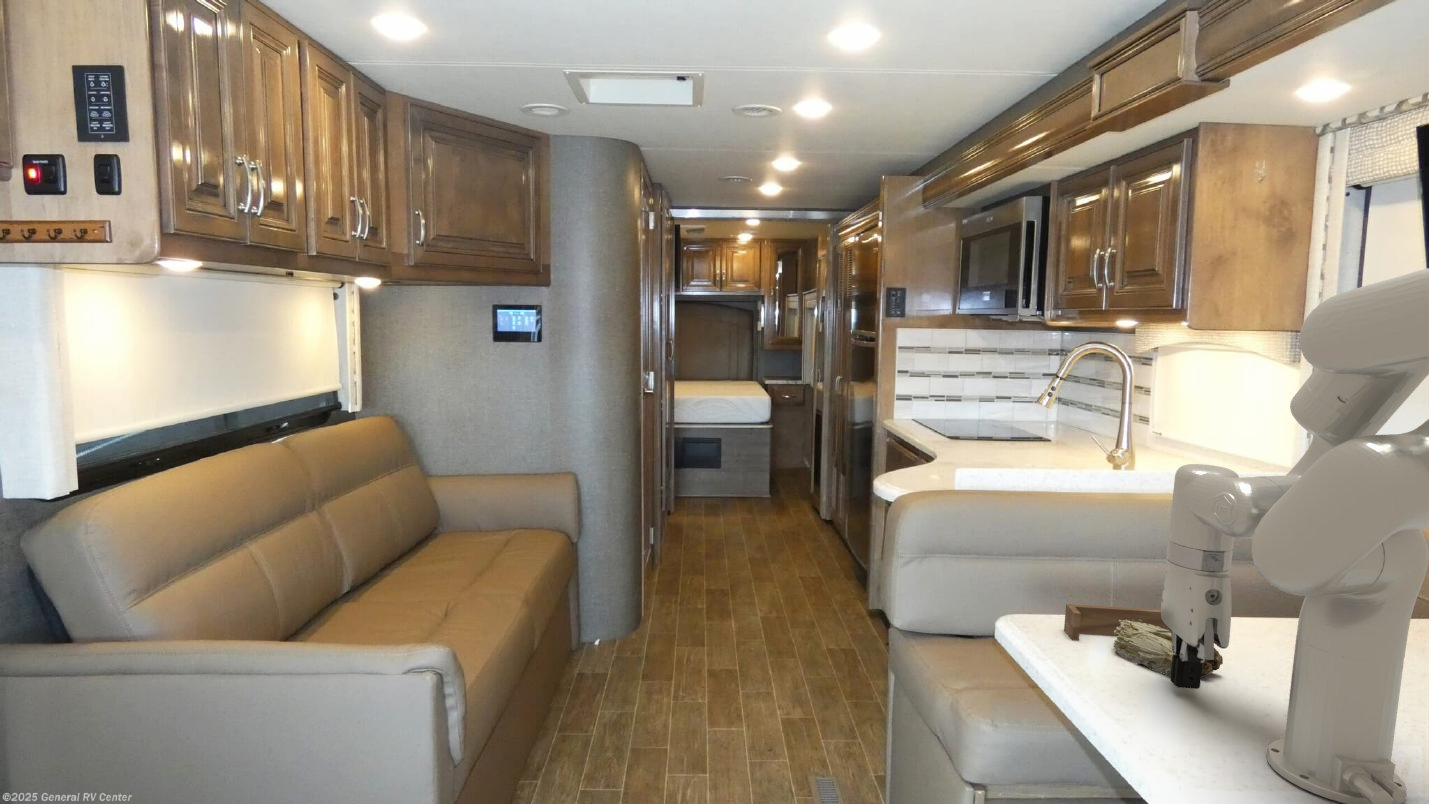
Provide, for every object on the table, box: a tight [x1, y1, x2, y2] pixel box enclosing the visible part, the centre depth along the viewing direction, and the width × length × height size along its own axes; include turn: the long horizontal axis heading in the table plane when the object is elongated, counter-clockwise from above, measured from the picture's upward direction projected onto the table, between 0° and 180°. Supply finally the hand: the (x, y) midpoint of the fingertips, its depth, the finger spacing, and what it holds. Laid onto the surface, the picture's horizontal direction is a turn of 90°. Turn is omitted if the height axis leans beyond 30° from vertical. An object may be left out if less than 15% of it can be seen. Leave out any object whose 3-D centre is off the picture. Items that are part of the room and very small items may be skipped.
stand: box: [1063, 603, 1169, 641], centre depth 130 cm, size 4×19×4 cm, turn 84°
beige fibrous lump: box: [1113, 619, 1224, 678], centre depth 122 cm, size 14×10×5 cm, turn 30°
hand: (1184, 685), depth 111 cm, fingers closed
